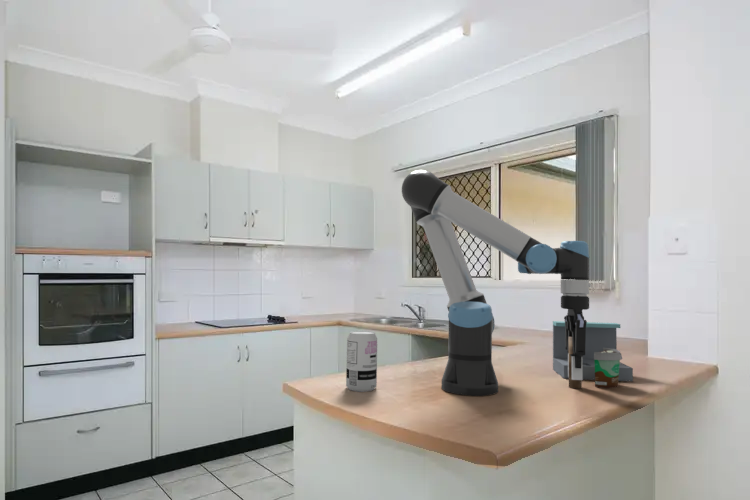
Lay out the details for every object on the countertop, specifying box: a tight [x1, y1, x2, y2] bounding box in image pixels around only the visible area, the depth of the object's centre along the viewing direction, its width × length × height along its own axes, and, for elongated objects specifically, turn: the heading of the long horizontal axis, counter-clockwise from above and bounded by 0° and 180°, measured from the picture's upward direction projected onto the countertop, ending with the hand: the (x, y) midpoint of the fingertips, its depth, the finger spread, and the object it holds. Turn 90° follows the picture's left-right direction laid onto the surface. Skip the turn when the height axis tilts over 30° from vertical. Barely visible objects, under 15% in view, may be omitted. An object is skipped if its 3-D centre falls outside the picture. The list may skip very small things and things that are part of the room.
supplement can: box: [345, 330, 378, 393], centre depth 130 cm, size 8×8×15 cm
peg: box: [568, 337, 583, 390], centre depth 136 cm, size 3×3×14 cm
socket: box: [552, 320, 634, 382], centre depth 154 cm, size 20×14×16 cm
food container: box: [594, 348, 623, 389], centre depth 139 cm, size 12×6×10 cm, turn 143°
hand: (575, 378), depth 136 cm, fingers closed on peg, 3 cm apart
